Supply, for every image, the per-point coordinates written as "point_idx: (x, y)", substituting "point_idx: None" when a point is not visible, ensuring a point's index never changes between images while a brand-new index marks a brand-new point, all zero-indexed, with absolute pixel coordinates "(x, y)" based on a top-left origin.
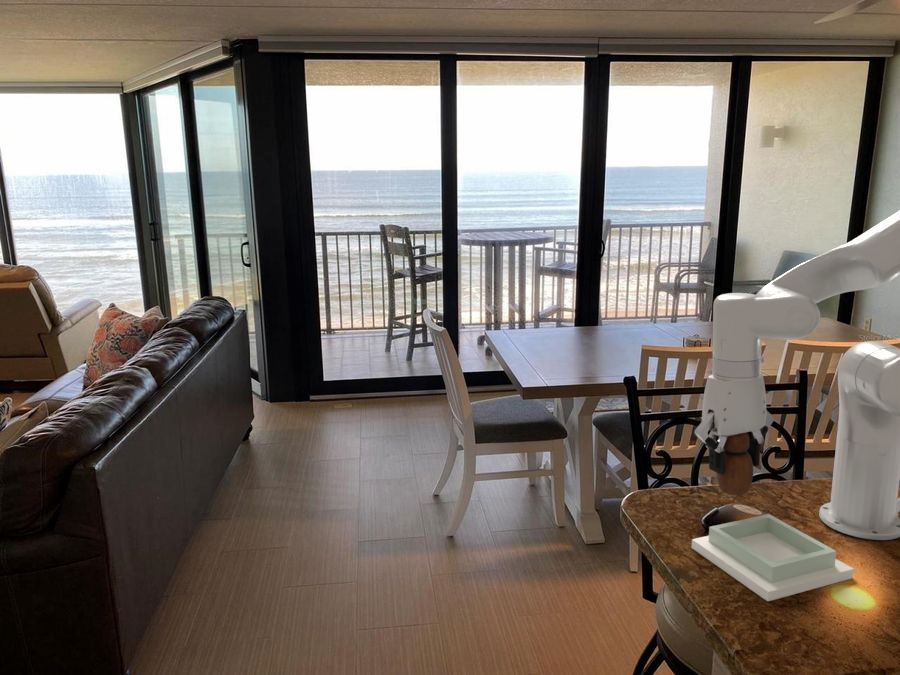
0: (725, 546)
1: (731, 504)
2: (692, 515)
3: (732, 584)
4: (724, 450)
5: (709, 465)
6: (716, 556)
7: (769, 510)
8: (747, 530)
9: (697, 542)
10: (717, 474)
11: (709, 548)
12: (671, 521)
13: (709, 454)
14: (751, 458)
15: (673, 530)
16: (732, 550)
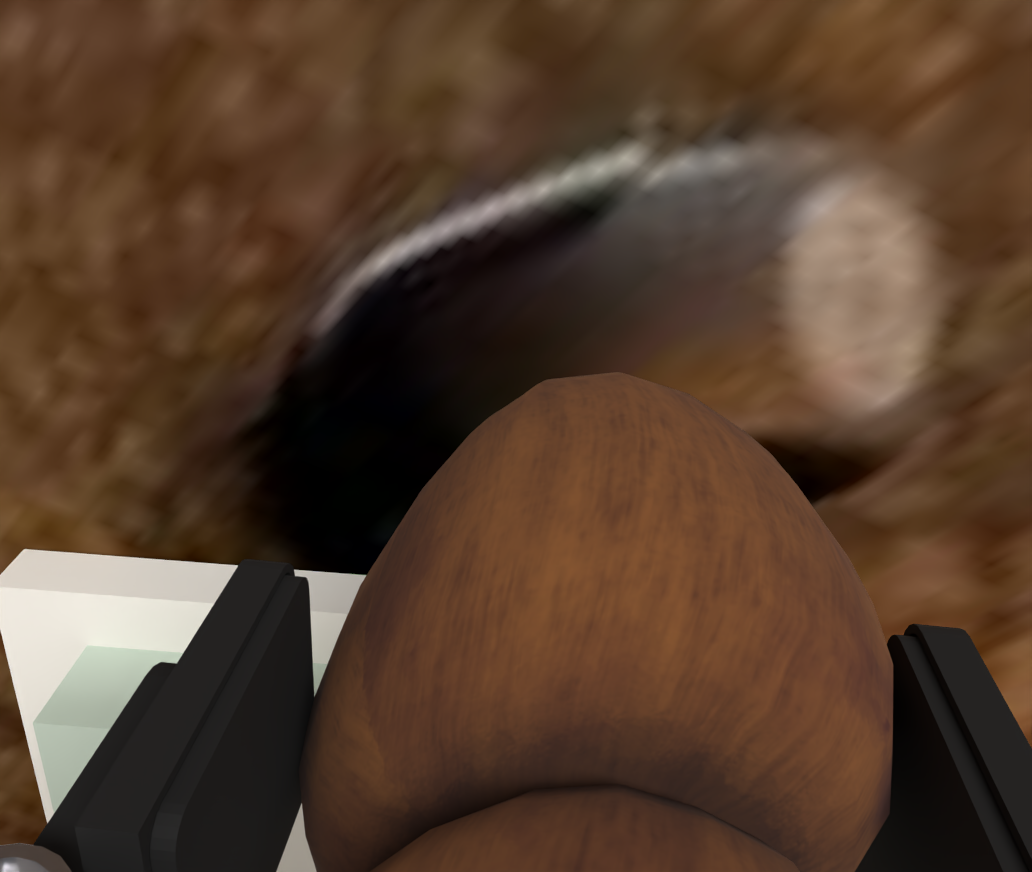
0: None
1: (825, 165)
2: (329, 179)
3: None
4: (456, 807)
5: (157, 667)
6: (34, 767)
7: (997, 399)
8: None
9: (5, 627)
10: (383, 550)
11: (42, 702)
12: (86, 187)
13: (68, 803)
14: (880, 829)
15: (25, 316)
16: None
